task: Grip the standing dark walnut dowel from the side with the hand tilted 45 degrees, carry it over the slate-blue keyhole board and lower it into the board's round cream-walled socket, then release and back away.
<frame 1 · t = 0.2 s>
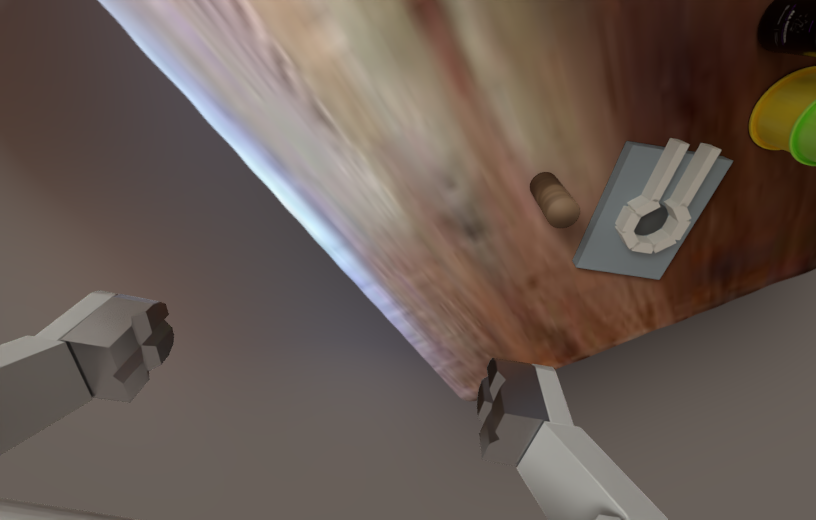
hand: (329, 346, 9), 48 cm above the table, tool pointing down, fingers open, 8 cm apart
supplement bottle: (786, 19, 44), on the table
stacking cups: (791, 109, 49), on the table
walnut dowel: (543, 185, 56), on the table
keyhole board: (641, 213, 58), on the table
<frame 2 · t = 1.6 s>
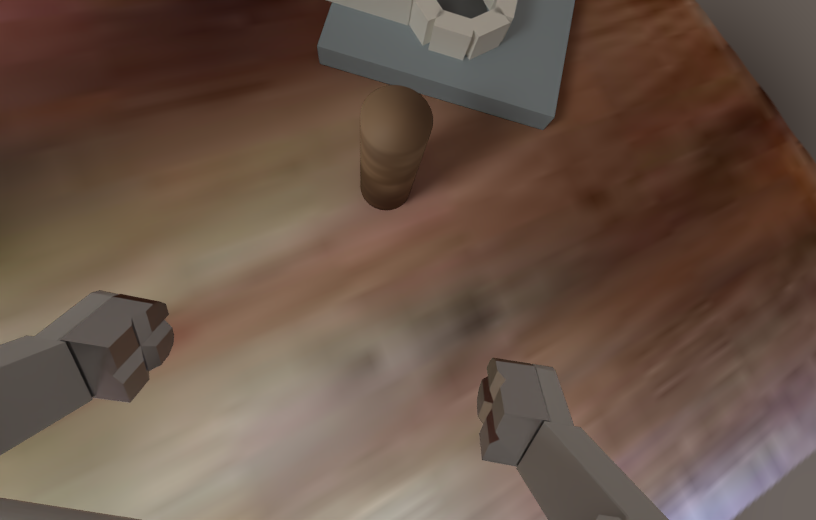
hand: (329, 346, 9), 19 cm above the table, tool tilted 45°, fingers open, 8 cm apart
walnut dowel: (385, 186, 30), on the table
keyhole board: (451, 30, 34), on the table
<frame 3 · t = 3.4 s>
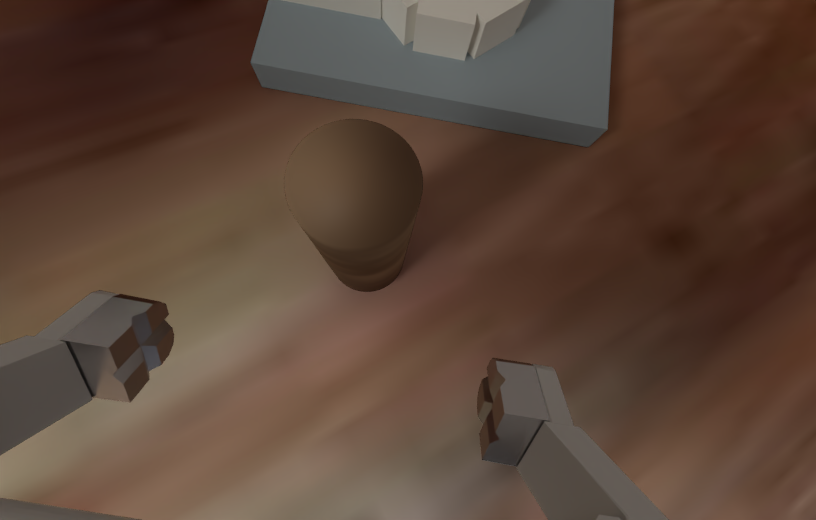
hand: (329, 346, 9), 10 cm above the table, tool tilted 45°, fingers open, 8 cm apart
walnut dowel: (367, 255, 21), on the table
keyhole board: (443, 21, 24), on the table
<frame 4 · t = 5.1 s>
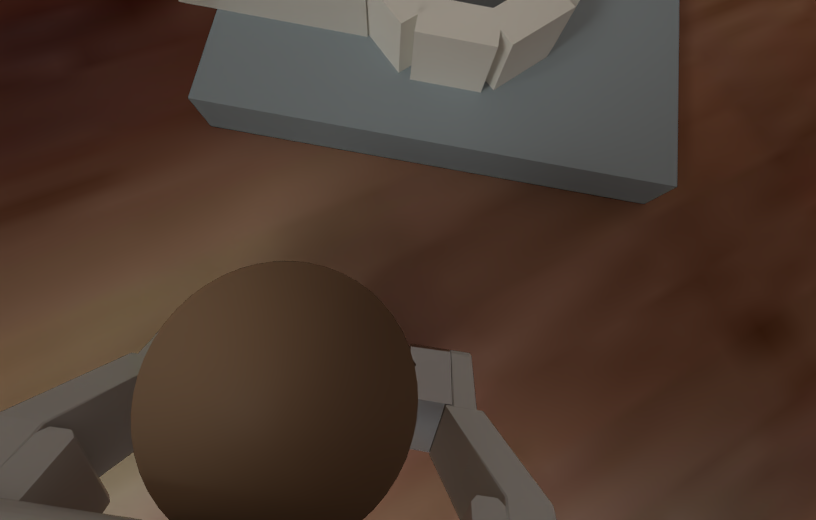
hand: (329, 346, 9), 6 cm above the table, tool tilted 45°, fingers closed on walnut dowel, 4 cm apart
walnut dowel: (347, 360, 15), on the table, touching gripper
keyhole board: (451, 36, 19), on the table
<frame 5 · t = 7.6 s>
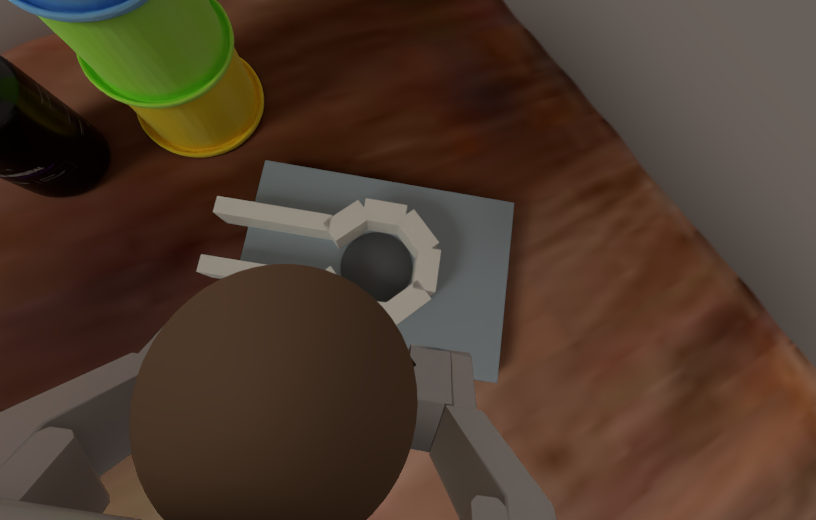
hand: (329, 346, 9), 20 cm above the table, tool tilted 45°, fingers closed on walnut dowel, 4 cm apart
supplement bottle: (71, 161, 31), on the table
stacking cups: (205, 105, 32), on the table
walnut dowel: (347, 361, 15), point 14 cm above the table, touching gripper
keyhole board: (377, 271, 30), on the table
when the fingers open (9 cm above the table, at t = 10.3 s): walnut dowel drops 1 cm, resting on keyhole board.
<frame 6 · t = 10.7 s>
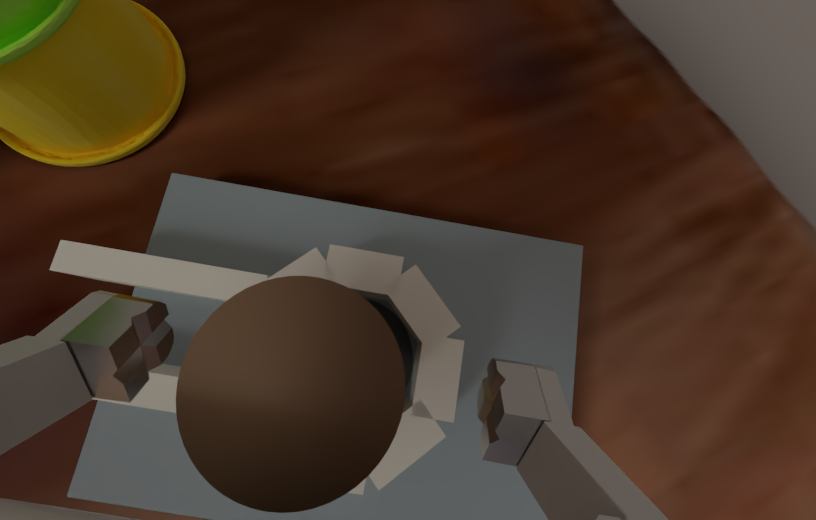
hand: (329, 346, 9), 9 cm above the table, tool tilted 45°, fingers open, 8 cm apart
stacking cups: (95, 85, 21), on the table
walnut dowel: (348, 358, 16), point 2 cm above the table, touching keyhole board
keyhole board: (355, 356, 18), on the table
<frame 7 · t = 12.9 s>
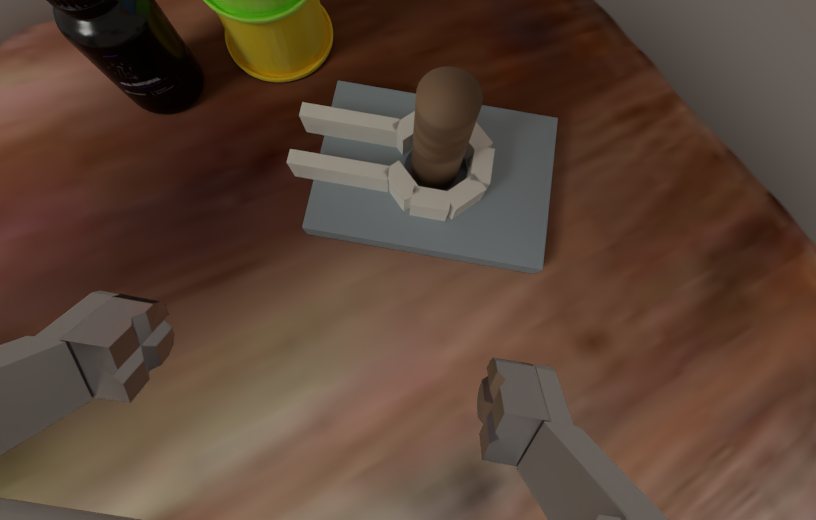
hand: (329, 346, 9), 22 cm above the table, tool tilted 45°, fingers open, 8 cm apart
supplement bottle: (171, 86, 36), on the table
stacking cups: (282, 39, 37), on the table
walnut dowel: (434, 170, 32), point 2 cm above the table, touching keyhole board
keyhole board: (433, 180, 34), on the table
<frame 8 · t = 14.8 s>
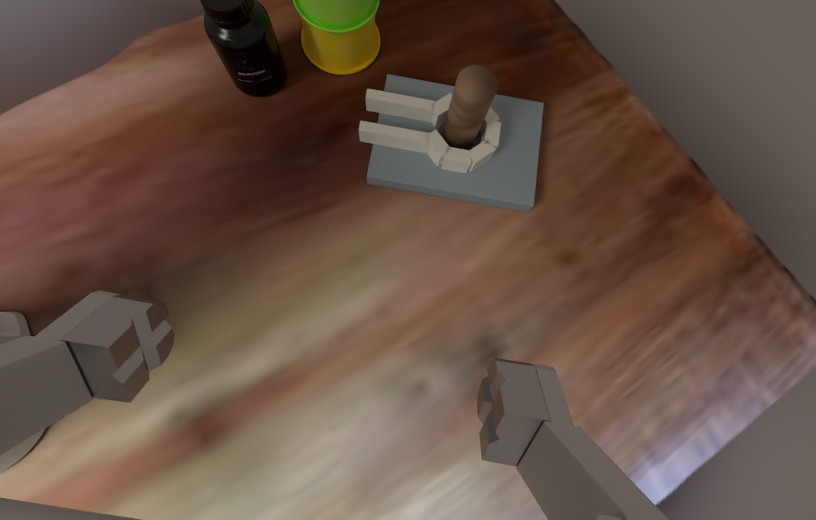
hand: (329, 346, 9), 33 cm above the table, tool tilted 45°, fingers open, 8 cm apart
supplement bottle: (261, 76, 48), on the table
stacking cups: (341, 43, 50), on the table
walnut dowel: (457, 138, 46), point 2 cm above the table, touching keyhole board
keyhole board: (455, 146, 48), on the table
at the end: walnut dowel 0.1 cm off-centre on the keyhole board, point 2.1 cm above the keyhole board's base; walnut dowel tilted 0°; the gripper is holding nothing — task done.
